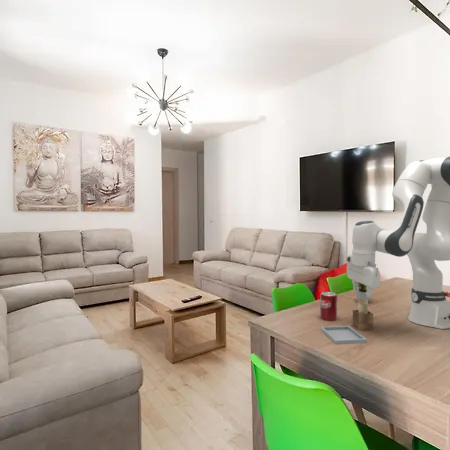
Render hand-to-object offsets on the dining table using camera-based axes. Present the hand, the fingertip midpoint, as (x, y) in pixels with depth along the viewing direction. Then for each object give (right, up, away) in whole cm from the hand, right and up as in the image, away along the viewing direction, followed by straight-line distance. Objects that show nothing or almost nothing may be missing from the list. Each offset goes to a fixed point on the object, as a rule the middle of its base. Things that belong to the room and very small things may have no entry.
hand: (362, 293), depth 132 cm
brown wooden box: (+1, -15, +1) cm, 15 cm away
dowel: (+1, -14, +1) cm, 14 cm away
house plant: (+18, -13, +39) cm, 45 cm away
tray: (-11, -16, -7) cm, 20 cm away
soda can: (-10, -15, +13) cm, 22 cm away
